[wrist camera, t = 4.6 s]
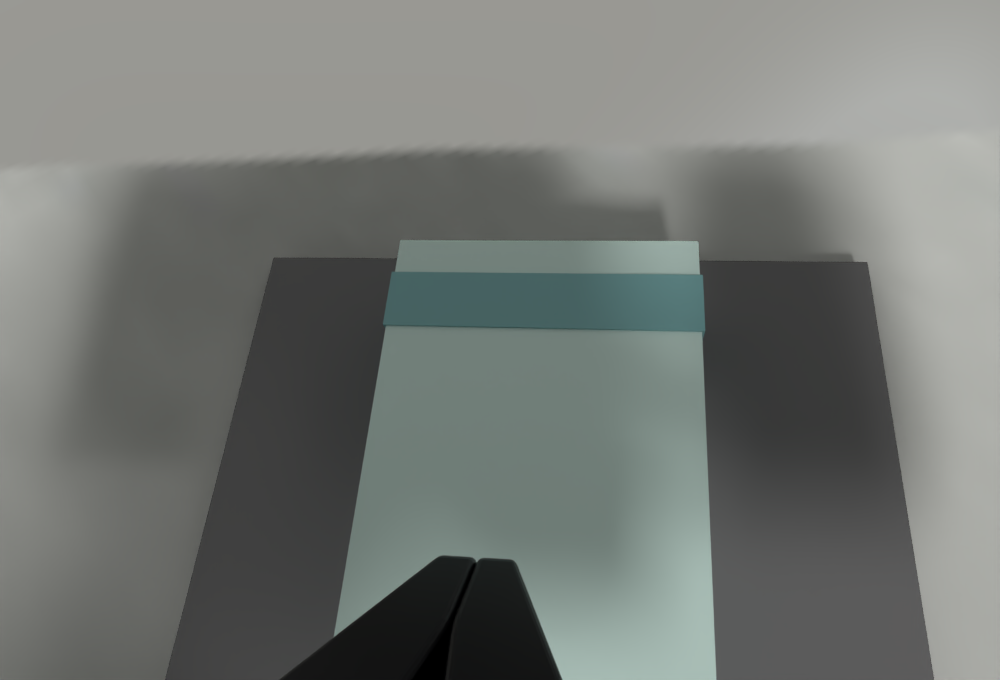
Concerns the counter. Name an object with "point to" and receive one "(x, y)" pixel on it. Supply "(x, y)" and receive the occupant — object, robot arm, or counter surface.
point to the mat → (731, 478)
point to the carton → (548, 443)
